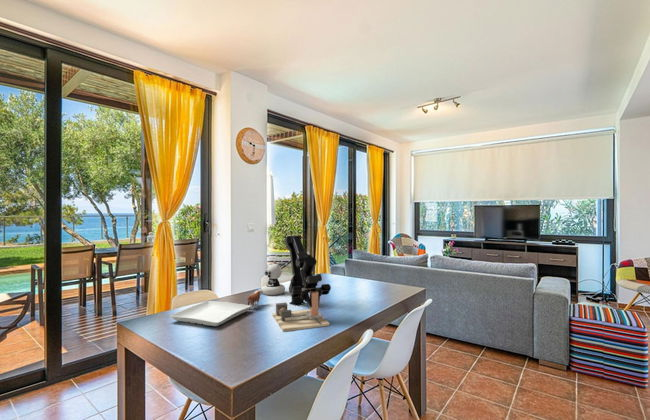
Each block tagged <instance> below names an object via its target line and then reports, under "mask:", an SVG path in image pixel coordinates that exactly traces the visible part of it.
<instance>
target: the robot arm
mask: <svg viewBox="0 0 650 420" xmlns="http://www.w3.org/2000/svg"><path fill="white" fill-rule="evenodd" d="M284 244H285V247H286V249H287V251H289V258H290V263H291V264H290V265H291V271H292V277H291V280H290V283H289V285H288V292H289V293H290V296H291V301H289V304H290V305H293V306H294V305H295V306H299V305H304V304H307V305H308V307H309V308H310V307H312V304H311V301H310V291H317V292H318V308H319V307H320V301H321V297H322V296H325V295H329V293H330V291H331V289H332V287H331V284H329V283H322V284H321V286H319V287H317V286H318V285H319V284H318V283H319V282H322V280H323V277H322V274H321V273H317V274H315V275H314V274H313V272H314V271H315V267H316V265H317V259H316V258H315V257H314V256H312V255H311V254H308V253H307V252H306V250H305V248H304V245H303V243H302V237H301V235H286V237H284Z"/></svg>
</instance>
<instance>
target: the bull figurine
mask: <svg viewBox="0 0 650 420" xmlns="http://www.w3.org/2000/svg"><path fill="white" fill-rule="evenodd" d="M262 295H265V294H264V293H263V291H262V290H261V288H259V289H256V291H254V292H253V293H252V294H250V295H248V296H247V298H246V299H247V305H251V307H252V308H253V309H256V308H257V307H256V306H258V307H259V306H260V305H259V302H260V298H261V296H262ZM251 307H250V308H251ZM250 308H249V309H250ZM249 309H248V310H249Z"/></svg>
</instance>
